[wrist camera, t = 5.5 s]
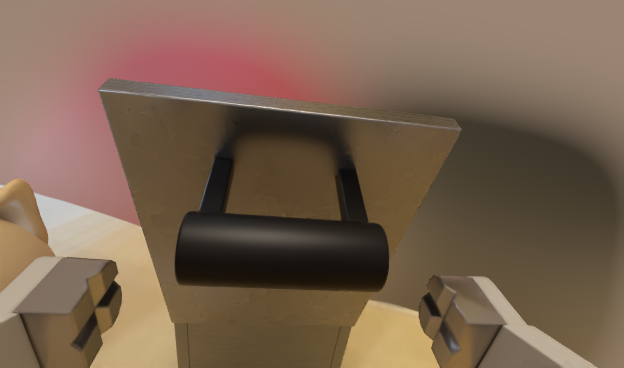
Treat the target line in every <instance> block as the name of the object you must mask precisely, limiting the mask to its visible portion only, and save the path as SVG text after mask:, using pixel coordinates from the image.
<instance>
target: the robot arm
mask: <svg viewBox="0 0 624 368" xmlns="http://www.w3.org/2000/svg"><path fill="white" fill-rule="evenodd" d="M117 274H118V270H117V265H116V262H114V261H112V260H102V259H88V258H73V257H66V258H65V257H52V256H42V257H40V258H37V259H35V260H34V261H33V262H32V263H31V264H30V265H29V266H28V267H27V268H26V269H25V270H24V271H23V272H22V273H21V274H20V275H19V276H18V277H16V278H15V279H14V280H13V281H12V282H11V283H10V284H9V285H8V286H7V287H6V288H5V289H4V290H3V291H2V292H1V293H0V368H89V367H90V366H91V364H92V362H93V360H94V358H95V357H96V355H97V353H98V351H99V350H100V348H101V346H102V344H103V343H102V339H101V334H102V333H104V332H105V331H107V330H108V329H110V328H111V327H112V326H113V324H114V322H115V320H116V318H117V317H118V314H119V310H120V307H121V302H122V292H121V286H119V285H118V284H117V283H116V282H115V281H114V279H115V277H116V276H117ZM427 287H428V290H429V293H427V294H426V295H425V296H424V297H422V299H421V302H420V305H419V320H420V324H421V327H422V329H423V331H424V333H425V334H426V335H427V336H428V337H430V338H431V339H432V340H433V343H432V347H431V349H432V351H433V353H434V355H435V358H436V360H437V362H438V364H439V366H440V368H597V367H596V366H594V365H593V364H591V363H589V362H588V361H587V360H585V359H583V358H582V357H580V356H579V355H577V354H575V353H574V352H572V351H571V350H569V349H568V348H566V347H565V346H563V345H562V344H560V343H559V342H557V341H555V340H554V339H552V338H551V337H549V336H548V335H546V334H545V333H543V332H542V331H540V330H539V329H537V328H535V327H534V326H527V324H526V323H525V322H524V321H523V319H522V318H521V317H520V316H519V314H518V313H517V312H516V311H515V309H514V308H513V307H512V306H511V305H510V303H509V302H508V301H507V300H506V298H505V297H504V296H503V295H502V293H501V292H500V291H499V290H498V288H497V287H496V286H495V285H494V284H493V282H492V281H491V280H490V279H488V278H486V277H474V276H471V277H470V276H468V277H465V276H440V275H433V276H432V277H431V278H430V279H429V282H428V284H427Z"/></svg>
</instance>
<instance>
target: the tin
mask: <svg viewBox="0 0 624 368" xmlns="http://www.w3.org/2000/svg"><path fill="white" fill-rule="evenodd" d="M174 325H175V337H176V348H177V359H178V368H340V367H341V363H342V360H343V356H344V352H345V349H346V345H347V342H348V338H349V334H350V331H351V327H352V326H322V325H270V324H218V323H174Z"/></svg>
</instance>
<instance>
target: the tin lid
mask: <svg viewBox="0 0 624 368" xmlns="http://www.w3.org/2000/svg"><path fill="white" fill-rule="evenodd" d="M98 91H99V94H100V97H101V101H102V104H103V107H104V110H105V113H106V116H107V119H108V122H109V126H110V129H111V132H112V135H113V138H114V142H115V145H116V148H117V151H118V154H119V157H120V160H121V164H122V167H123V170H124V173H125V176H126V179H127V183H128V185H129V189H130V192H131V195H132V198H133V201H134V205H135V207H136V211H137V214H138V217H139V220H140V224H141V227H142V230H143V233H144V236H145V239H146V242H147V246H148V249H149V252H150V255H151V258H152V261H153V265H154V268H155V271H156V274H157V277H158V280H159V283H160V287H161V290H162V293H163V296H164V299H165V302H166V306H167V309H168V312H169V315H170V318H171V321H172V323H218V324H270V325H322V326H355V324H356V322H357V320H358V318H359V317H360V315H361V313H362V311H363V309H364V308H365V306H366V304H367V302H368V300H369V298H370V297H371V295H372V293H373V292H378V291H380V290H381V289H382V288H383V287H384V285H385V282H386V280H387V276H388V269H389V262H390V260H391V258H392V256H393V255H394V253H395V251H396V249H397V247H398V245H399V244H400V242H401V240H402V238H403V236H404V235H405V233H406V231H407V229H408V227H409V225H410V224H411V222H412V220H413V218H414V216H415V214H416V212H417V211H418V209H419V207H420V205H421V203H422V202H423V200H424V198H425V196H426V194H427V193H428V191H429V189H430V187H431V185H432V183H433V182H434V180H435V178H436V176H437V174H438V172H439V171H440V169H441V167H442V165H443V163H444V162H445V159H446V158H447V156H448V154H449V152H450V151H451V149H452V147H453V145H454V143H455V141H456V139H457V138H458V136H459V134H460V132H461V128H460V127H459V126H458V124H457V123H456V121H455V120H454V119H452V118H443V117H435V116H427V115H418V114H409V113H401V112H393V111H383V110H375V109H367V108H359V107H350V106H341V105H333V104H325V103H316V102H308V101H299V100H291V99H282V98H274V97H265V96H256V95H248V94H239V93H231V92H222V91H214V90H205V89H197V88H188V87H180V86H171V85H162V84H154V83H146V82H137V81H129V80H120V79H112V78H110V79H108V80H107V81H106V82H105V83H104V84H103V85H102V86H101V87H100V88H99V90H98Z"/></svg>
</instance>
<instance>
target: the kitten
mask: <svg viewBox="0 0 624 368" xmlns="http://www.w3.org/2000/svg"><path fill="white" fill-rule="evenodd" d="M42 256H52V257H56V256H55V255H54V253H53V251H52V250H51V248H50V247H49V246H48V233H47V230H46V227H45V225H44V223H43V221H42V218H41V216H40V213H39V209H38V206H37V203H36V198H35V196H34V193H33V191H32V189H31V187H30V185H29V184H28V183H27V182H26V181H24V180H22V179H14V180H12V181H11V182H9V183H8V184H6V185H5V186H3V187H2V188H1V189H0V293H1V292H2V291H3V290H4V289H5V288H6V287H7V286H8V285H9V284H10V283H11V282H12V281H13V280H14V279H15V278H16V277H18V276H19V275H20V274H21V273H22V272H23V271H24V270H25V269H26V268H27V267H28V266H29V265H30V264H31V263H32V262H33V261H34V260H35V259H37V258H40V257H42Z"/></svg>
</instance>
